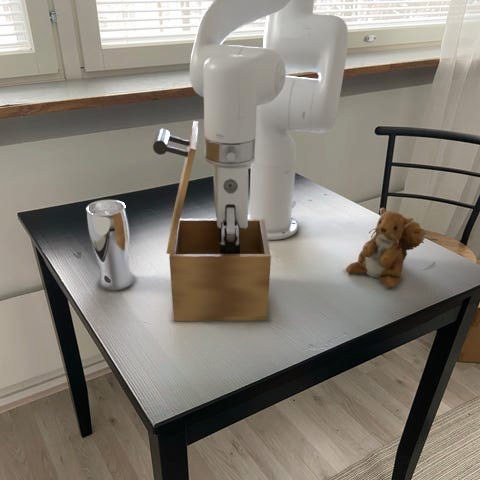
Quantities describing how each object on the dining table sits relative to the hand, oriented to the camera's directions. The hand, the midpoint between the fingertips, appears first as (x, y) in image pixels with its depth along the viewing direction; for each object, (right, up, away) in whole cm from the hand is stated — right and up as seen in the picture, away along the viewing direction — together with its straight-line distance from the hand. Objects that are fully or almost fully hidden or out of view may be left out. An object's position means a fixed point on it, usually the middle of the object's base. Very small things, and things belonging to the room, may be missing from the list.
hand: (229, 252), depth 85 cm
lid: (-7, +9, -7) cm, 13 cm away
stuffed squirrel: (+30, -2, +15) cm, 34 cm away
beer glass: (-21, -4, +9) cm, 24 cm away
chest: (-2, -8, +5) cm, 9 cm away
